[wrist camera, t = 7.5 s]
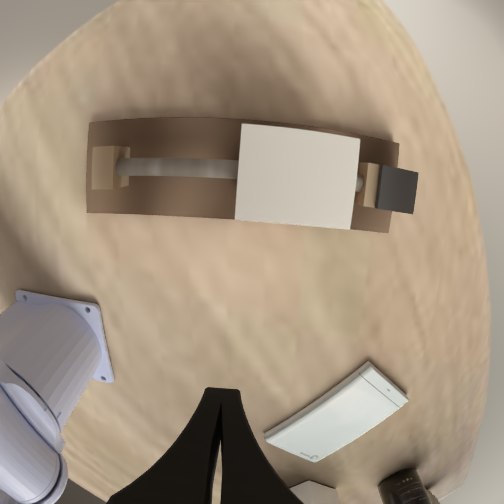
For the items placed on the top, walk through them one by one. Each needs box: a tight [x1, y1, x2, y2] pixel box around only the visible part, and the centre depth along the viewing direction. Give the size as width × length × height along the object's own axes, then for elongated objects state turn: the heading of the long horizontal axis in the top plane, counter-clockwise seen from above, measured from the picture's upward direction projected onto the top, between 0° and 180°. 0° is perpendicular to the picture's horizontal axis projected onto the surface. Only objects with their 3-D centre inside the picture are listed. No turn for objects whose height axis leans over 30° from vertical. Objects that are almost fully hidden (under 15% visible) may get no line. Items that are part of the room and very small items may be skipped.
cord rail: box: [86, 117, 418, 233], centre depth 16 cm, size 20×6×4 cm, turn 86°
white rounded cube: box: [235, 124, 360, 230], centre depth 14 cm, size 5×4×5 cm
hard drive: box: [264, 361, 409, 462], centre depth 24 cm, size 2×8×12 cm
